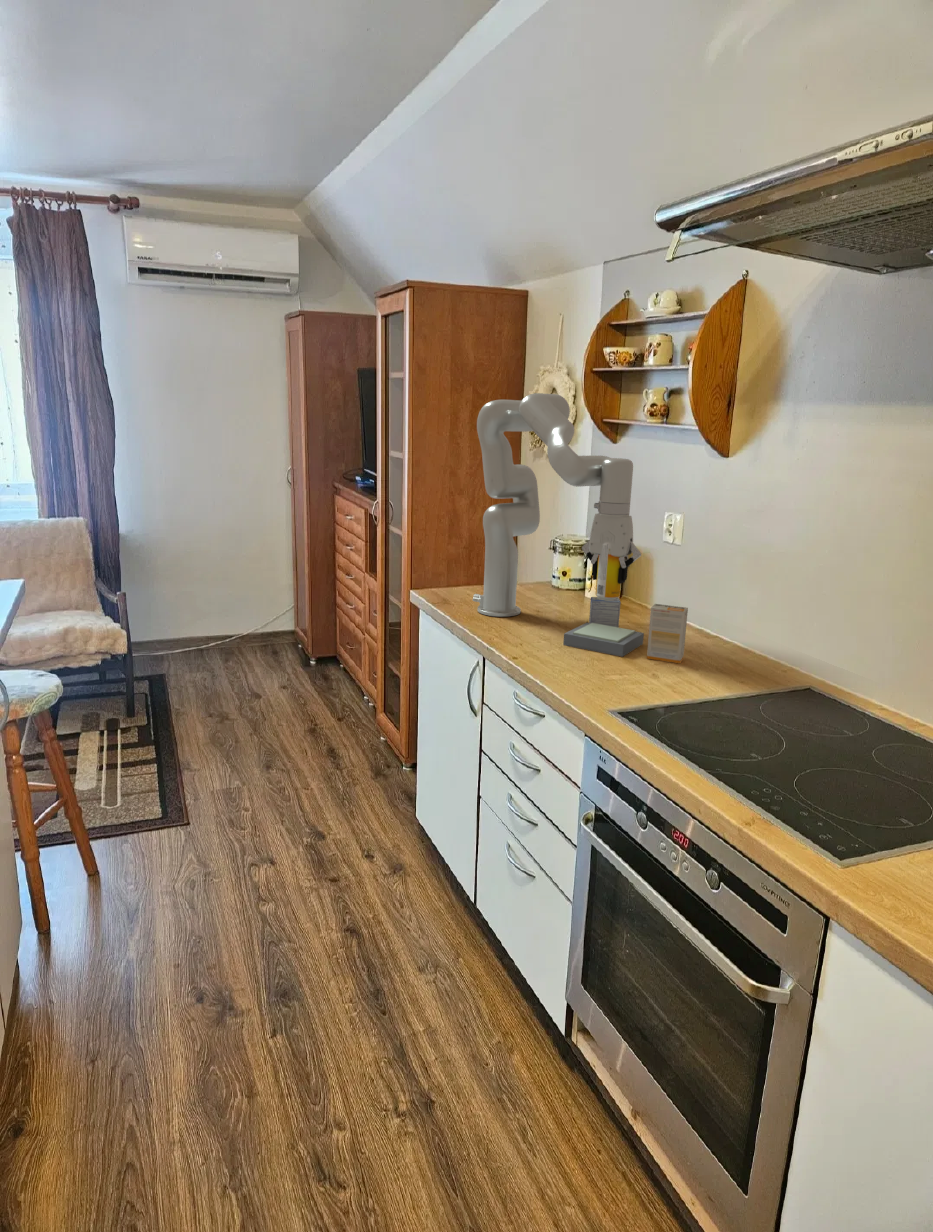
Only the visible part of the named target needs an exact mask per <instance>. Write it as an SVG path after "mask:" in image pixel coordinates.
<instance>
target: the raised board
mask: <svg viewBox="0 0 933 1232" xmlns="http://www.w3.org/2000/svg"><path fill="white" fill-rule="evenodd" d="M644 636H645V633H644V632H639V631H636V630H633V629H628V628H622V627H619V628H618V627H613V626H607V625H602V624H596V623H589V622H585V623H583V624H581V625H578V626H577V627H575V628H572V629H571V630H568V631H567V632H565V633H563V642H562V643H563V644H562V645H563V646H567V647H571V648H577V649H583V650H586V649H587V651H591V652H597V653H602V654H607V655H611V656H617V657H622V658H623V657H624V656H626V655H627V654H629V653H630V652H632V651H634V650H636V649H637V648H639V647H640V645H641V646H642V645H643V644H644V638H645V637H644ZM635 648H636V649H635Z"/></svg>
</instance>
